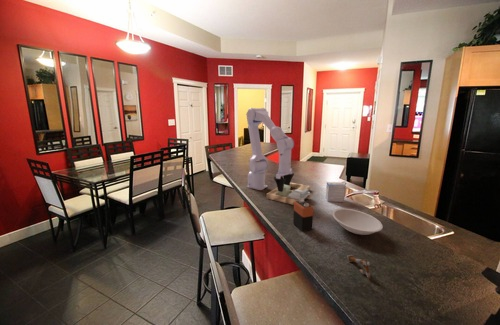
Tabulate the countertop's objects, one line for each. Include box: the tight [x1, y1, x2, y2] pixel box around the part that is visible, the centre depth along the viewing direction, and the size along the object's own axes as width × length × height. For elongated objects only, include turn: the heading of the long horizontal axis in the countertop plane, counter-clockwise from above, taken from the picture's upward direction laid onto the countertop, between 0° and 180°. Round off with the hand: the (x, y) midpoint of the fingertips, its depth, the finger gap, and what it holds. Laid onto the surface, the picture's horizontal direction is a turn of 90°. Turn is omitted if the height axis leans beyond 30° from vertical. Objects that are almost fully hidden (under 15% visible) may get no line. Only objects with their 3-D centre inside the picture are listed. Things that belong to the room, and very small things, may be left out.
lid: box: [288, 189, 311, 201], centre depth 107 cm, size 8×10×3 cm
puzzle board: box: [266, 181, 312, 206], centre depth 115 cm, size 18×24×2 cm
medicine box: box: [325, 181, 347, 203], centre depth 107 cm, size 8×4×9 cm, turn 84°
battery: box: [292, 199, 314, 232], centre depth 82 cm, size 4×7×10 cm, turn 20°
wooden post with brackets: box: [346, 254, 372, 280], centre depth 60 cm, size 2×8×4 cm, turn 11°
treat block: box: [278, 185, 291, 197], centre depth 111 cm, size 4×4×6 cm
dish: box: [332, 208, 384, 236], centre depth 79 cm, size 18×14×5 cm
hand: (283, 189), depth 111 cm, fingers open, 7 cm apart
